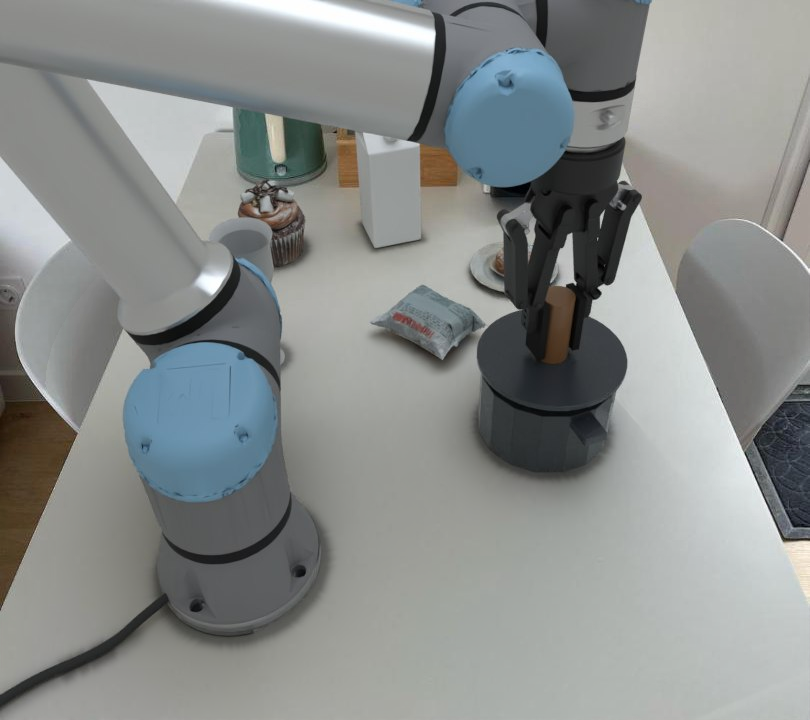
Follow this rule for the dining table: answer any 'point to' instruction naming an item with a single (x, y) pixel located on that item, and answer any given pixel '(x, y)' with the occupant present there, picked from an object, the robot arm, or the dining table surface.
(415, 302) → the packaged food
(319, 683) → the dining table surface
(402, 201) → the milk carton
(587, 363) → the lid
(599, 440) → the pot
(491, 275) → the pastry
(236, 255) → the chalice
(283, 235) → the cupcake
